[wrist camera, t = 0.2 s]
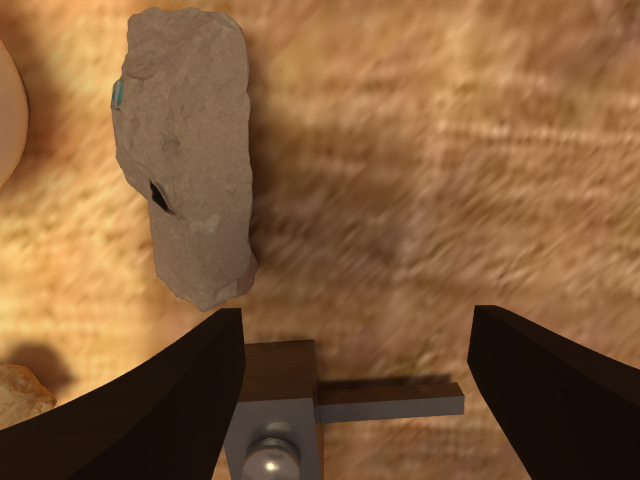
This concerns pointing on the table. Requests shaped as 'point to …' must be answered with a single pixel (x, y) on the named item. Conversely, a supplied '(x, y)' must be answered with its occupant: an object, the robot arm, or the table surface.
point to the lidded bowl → (11, 115)
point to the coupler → (309, 412)
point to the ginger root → (21, 395)
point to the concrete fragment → (189, 148)
